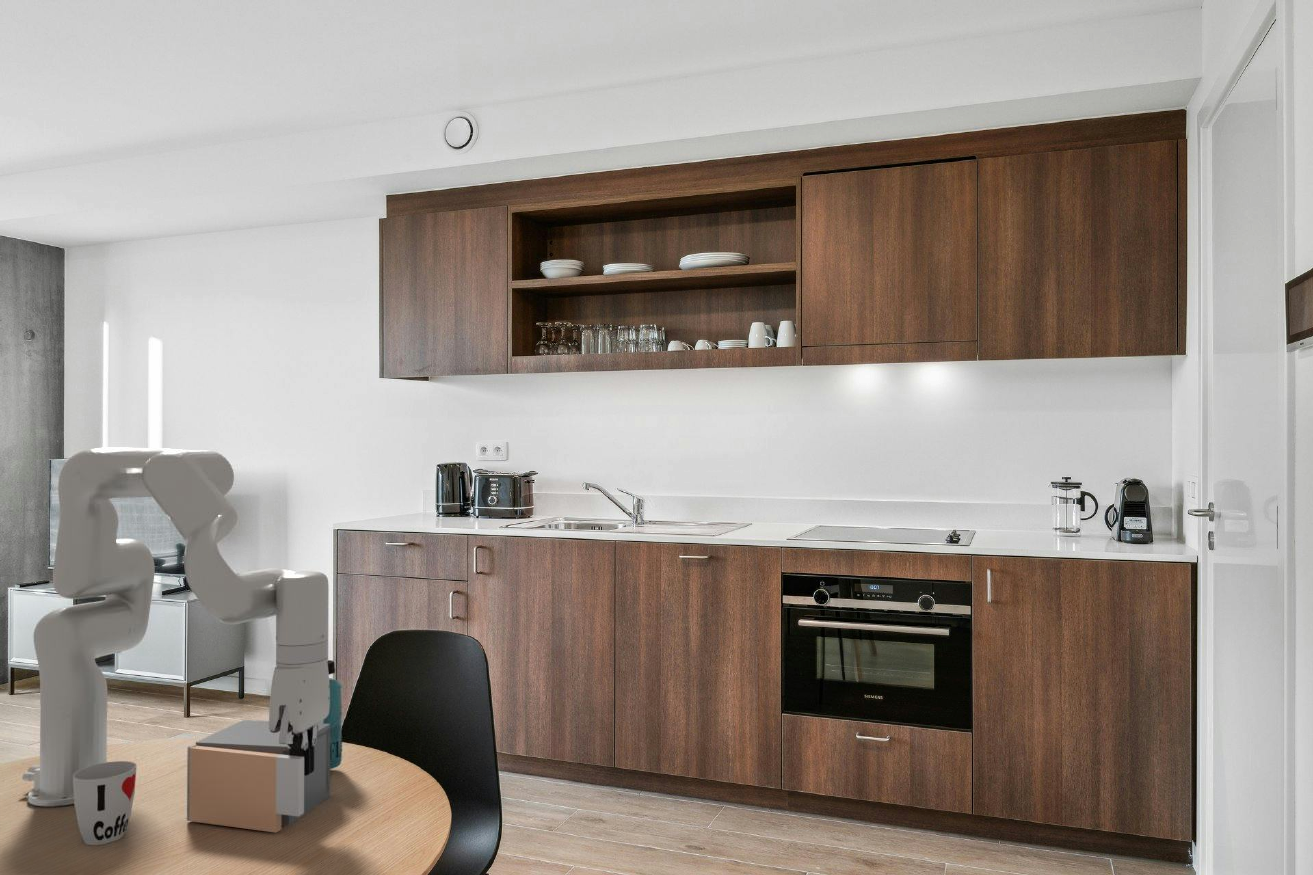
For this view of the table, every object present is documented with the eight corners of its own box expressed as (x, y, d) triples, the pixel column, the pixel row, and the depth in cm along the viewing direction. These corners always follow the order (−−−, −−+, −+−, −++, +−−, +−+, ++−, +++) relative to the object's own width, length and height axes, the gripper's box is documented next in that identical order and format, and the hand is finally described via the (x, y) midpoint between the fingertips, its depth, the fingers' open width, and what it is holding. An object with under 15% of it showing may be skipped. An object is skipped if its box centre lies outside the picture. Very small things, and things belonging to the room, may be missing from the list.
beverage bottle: (329, 780, 155) (329, 666, 155) (295, 778, 156) (295, 664, 156) (349, 768, 161) (349, 657, 162) (316, 765, 162) (317, 656, 163)
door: (185, 820, 137) (185, 747, 137) (191, 817, 138) (191, 745, 138) (298, 835, 131) (298, 759, 131) (303, 832, 132) (304, 756, 133)
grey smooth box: (195, 819, 138) (195, 742, 139) (242, 790, 150) (243, 719, 150) (289, 825, 136) (289, 746, 136) (330, 796, 148) (330, 723, 148)
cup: (89, 854, 126) (89, 783, 126) (61, 841, 130) (61, 773, 131) (146, 833, 133) (147, 766, 133) (118, 822, 137) (119, 757, 138)
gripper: (305, 642, 144) (305, 756, 143) (250, 663, 129) (250, 790, 129) (349, 643, 143) (348, 758, 142) (298, 664, 128) (297, 792, 127)
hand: (301, 772), depth 135 cm, fingers closed
